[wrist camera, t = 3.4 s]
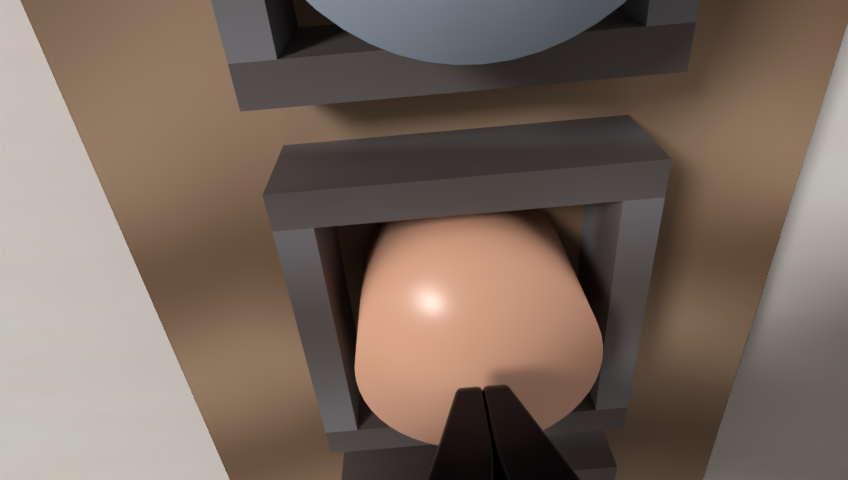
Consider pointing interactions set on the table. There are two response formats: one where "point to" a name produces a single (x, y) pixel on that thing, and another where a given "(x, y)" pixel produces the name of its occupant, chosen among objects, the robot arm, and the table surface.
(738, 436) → the table surface
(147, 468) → the table surface
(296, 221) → the button panel
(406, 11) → the slate button
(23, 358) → the table surface
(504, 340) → the terracotta button
